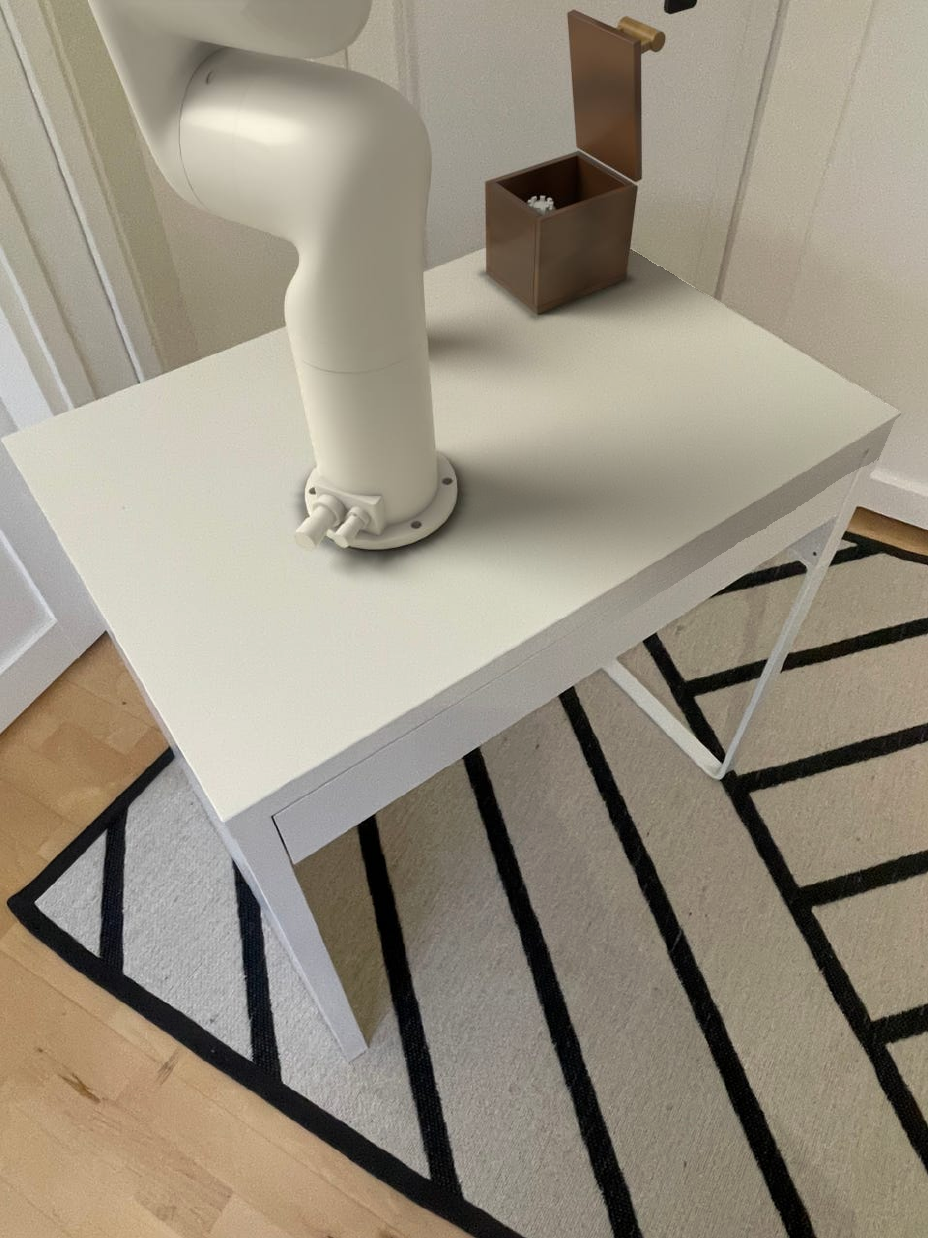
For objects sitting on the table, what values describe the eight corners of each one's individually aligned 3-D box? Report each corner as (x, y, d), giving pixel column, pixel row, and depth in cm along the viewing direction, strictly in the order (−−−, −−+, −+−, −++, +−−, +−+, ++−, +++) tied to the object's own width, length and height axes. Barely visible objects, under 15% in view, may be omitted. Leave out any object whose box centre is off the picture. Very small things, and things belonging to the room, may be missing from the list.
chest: (537, 314, 87) (540, 220, 80) (485, 273, 92) (484, 181, 85) (626, 279, 91) (638, 185, 83) (572, 241, 96) (579, 150, 88)
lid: (634, 43, 73) (684, 16, 73) (566, 12, 78) (614, -13, 79) (635, 182, 83) (679, 157, 84) (576, 147, 88) (618, 124, 89)
